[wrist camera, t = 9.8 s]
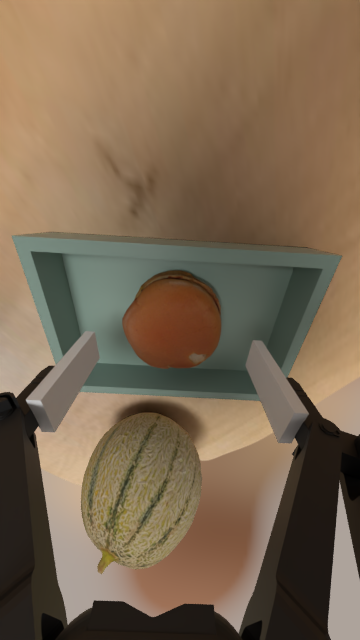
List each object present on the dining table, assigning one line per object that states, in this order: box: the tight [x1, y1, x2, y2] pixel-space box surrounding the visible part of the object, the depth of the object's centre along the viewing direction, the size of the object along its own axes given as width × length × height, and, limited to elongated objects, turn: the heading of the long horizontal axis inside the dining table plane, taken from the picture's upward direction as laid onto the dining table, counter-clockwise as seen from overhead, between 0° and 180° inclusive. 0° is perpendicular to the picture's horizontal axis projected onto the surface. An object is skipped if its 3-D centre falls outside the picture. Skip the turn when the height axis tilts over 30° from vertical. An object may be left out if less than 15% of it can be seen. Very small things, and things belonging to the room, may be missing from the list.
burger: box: [122, 270, 221, 369], centre depth 18 cm, size 10×9×5 cm
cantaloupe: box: [81, 413, 202, 574], centre depth 24 cm, size 15×15×15 cm
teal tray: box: [12, 232, 342, 401], centre depth 19 cm, size 16×24×4 cm, turn 87°
